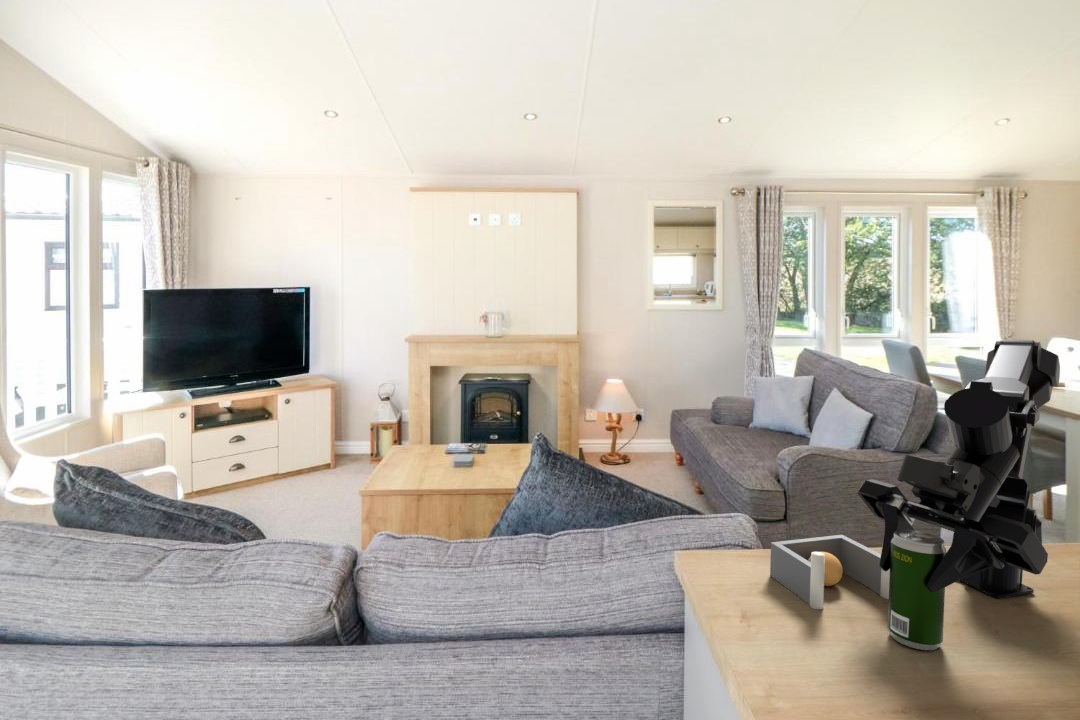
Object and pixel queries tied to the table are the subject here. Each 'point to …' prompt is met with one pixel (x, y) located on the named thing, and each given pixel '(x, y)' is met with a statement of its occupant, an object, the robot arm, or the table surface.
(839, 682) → the table surface
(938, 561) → the beer can
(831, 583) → the ball
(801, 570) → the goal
